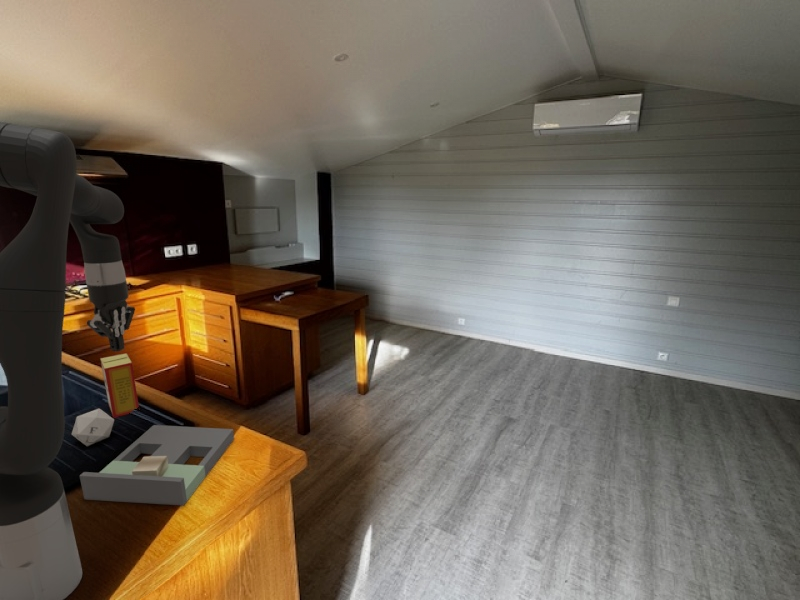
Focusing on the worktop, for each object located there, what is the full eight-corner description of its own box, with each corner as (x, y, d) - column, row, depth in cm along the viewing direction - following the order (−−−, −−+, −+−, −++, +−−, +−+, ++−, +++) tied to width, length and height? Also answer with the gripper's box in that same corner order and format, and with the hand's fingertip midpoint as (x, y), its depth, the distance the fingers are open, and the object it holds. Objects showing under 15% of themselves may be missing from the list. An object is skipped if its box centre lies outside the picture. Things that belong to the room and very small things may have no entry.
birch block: (158, 482, 88) (156, 470, 87) (134, 483, 88) (132, 471, 87) (168, 467, 93) (166, 455, 92) (145, 467, 93) (143, 456, 92)
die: (66, 450, 104) (70, 431, 99) (77, 420, 109) (81, 401, 104) (104, 452, 108) (110, 434, 103) (113, 422, 114) (119, 404, 109)
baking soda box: (139, 410, 121) (131, 361, 117) (113, 418, 117) (104, 367, 113) (133, 398, 128) (125, 351, 124) (108, 405, 124) (100, 357, 120)
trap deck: (183, 505, 86) (180, 481, 84) (84, 499, 87) (79, 475, 85) (234, 438, 109) (232, 419, 107) (155, 434, 110) (152, 415, 108)
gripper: (100, 287, 87) (113, 362, 91) (141, 275, 99) (150, 341, 104) (66, 286, 87) (81, 360, 91) (112, 274, 100) (122, 339, 104)
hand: (118, 350), depth 98 cm, fingers closed
